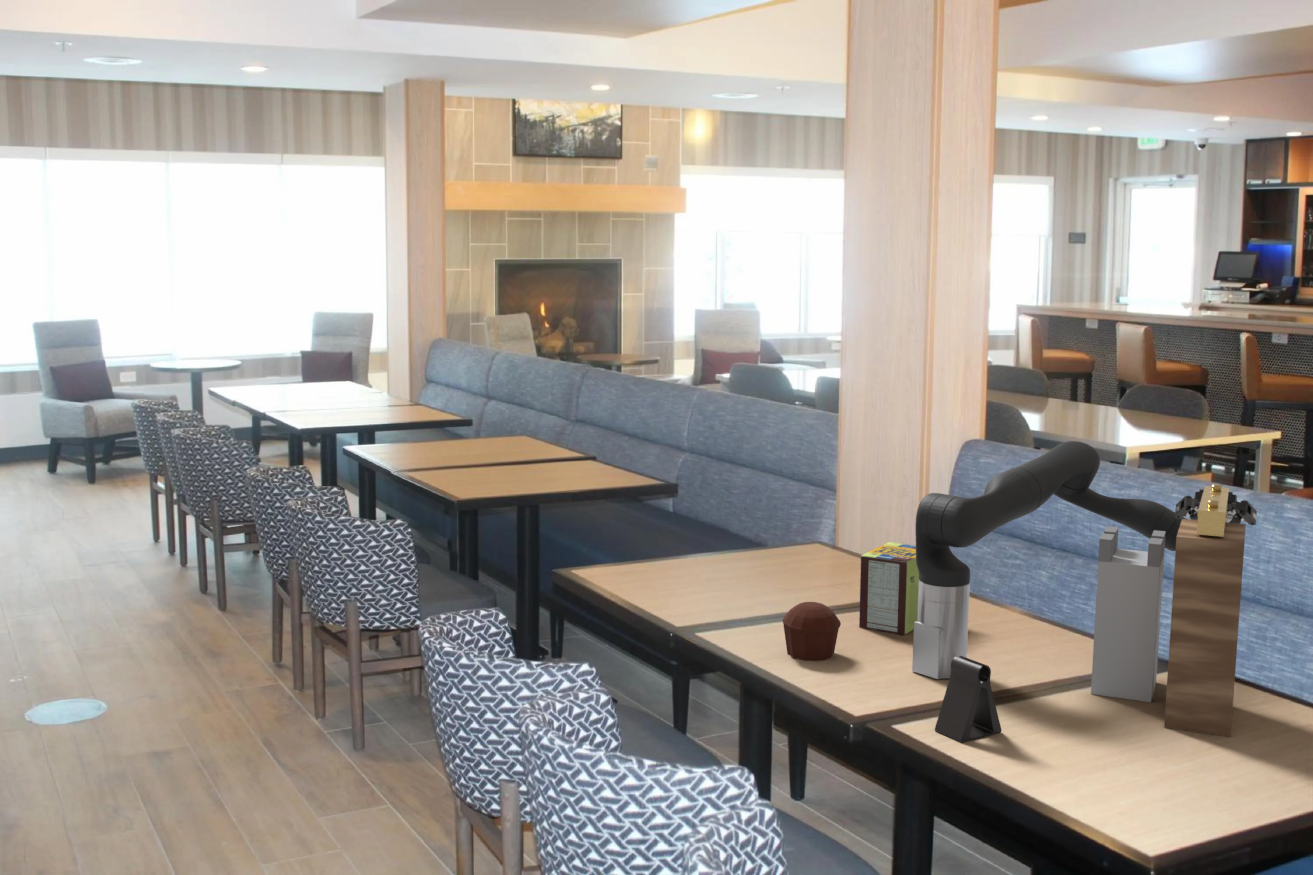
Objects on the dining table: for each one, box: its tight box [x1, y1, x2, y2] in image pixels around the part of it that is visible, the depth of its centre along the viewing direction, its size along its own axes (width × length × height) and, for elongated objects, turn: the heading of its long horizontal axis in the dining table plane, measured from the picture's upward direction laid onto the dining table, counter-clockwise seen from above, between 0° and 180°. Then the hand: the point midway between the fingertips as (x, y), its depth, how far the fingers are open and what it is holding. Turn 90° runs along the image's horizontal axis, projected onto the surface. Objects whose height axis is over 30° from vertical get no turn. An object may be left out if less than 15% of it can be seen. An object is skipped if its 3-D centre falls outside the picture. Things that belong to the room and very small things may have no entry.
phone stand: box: [934, 656, 1002, 744], centre depth 210 cm, size 9×6×12 cm, turn 121°
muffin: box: [781, 601, 842, 662], centre depth 251 cm, size 12×11×10 cm
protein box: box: [858, 541, 919, 636], centre depth 272 cm, size 10×15×16 cm
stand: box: [1164, 518, 1246, 738], centre depth 216 cm, size 16×10×32 cm, turn 155°
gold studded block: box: [1197, 483, 1230, 537], centre depth 219 cm, size 24×4×5 cm, turn 155°
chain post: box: [1090, 525, 1166, 703], centre depth 231 cm, size 12×10×28 cm
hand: (1215, 495), depth 224 cm, fingers closed on gold studded block, 4 cm apart
